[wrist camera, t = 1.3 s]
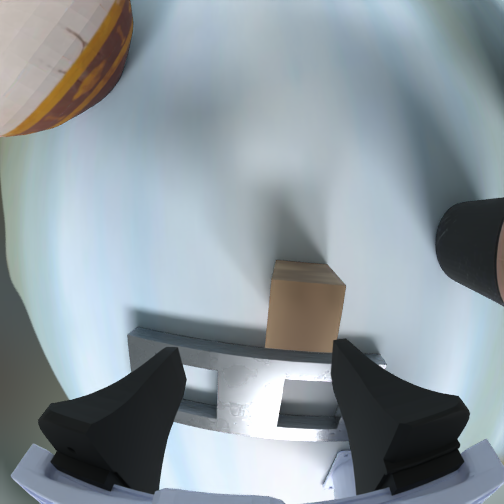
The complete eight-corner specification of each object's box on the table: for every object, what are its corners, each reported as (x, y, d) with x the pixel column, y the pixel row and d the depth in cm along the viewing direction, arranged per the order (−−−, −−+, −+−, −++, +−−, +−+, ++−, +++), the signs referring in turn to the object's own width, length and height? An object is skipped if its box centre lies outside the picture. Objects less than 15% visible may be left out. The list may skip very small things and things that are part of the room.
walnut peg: (327, 264, 21) (346, 285, 14) (320, 313, 22) (334, 352, 15) (276, 259, 21) (271, 279, 15) (271, 309, 22) (264, 347, 15)
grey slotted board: (379, 354, 21) (386, 364, 19) (355, 427, 22) (359, 440, 20) (137, 326, 24) (127, 334, 22) (145, 401, 25) (137, 411, 23)
